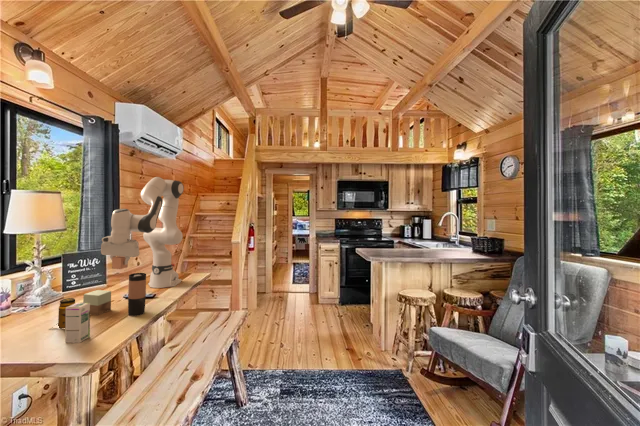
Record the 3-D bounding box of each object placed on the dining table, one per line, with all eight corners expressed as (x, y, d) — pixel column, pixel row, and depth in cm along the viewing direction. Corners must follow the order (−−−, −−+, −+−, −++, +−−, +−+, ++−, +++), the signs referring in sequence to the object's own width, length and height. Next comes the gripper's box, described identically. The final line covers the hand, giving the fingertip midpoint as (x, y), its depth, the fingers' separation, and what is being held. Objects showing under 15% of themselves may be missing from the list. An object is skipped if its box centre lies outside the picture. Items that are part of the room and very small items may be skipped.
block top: (96, 299, 158) (97, 289, 158) (110, 300, 157) (111, 291, 157) (83, 304, 150) (83, 294, 150) (98, 305, 149) (98, 295, 149)
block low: (96, 308, 158) (97, 299, 158) (110, 310, 157) (111, 300, 157) (83, 314, 150) (83, 304, 150) (97, 315, 149) (97, 305, 149)
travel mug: (142, 310, 159) (144, 272, 159) (147, 314, 154) (148, 275, 153) (125, 313, 154) (127, 274, 153) (129, 317, 148) (130, 277, 148)
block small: (119, 266, 168) (119, 255, 167) (127, 267, 167) (127, 256, 167) (112, 268, 163) (112, 257, 162) (120, 269, 162) (120, 258, 162)
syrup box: (80, 343, 121) (81, 307, 120) (64, 343, 120) (65, 306, 120) (89, 336, 126) (90, 302, 126) (74, 336, 126) (75, 302, 125)
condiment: (71, 328, 133) (71, 301, 133) (48, 329, 131) (49, 302, 131) (80, 322, 140) (81, 296, 140) (58, 323, 138) (59, 297, 138)
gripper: (142, 239, 166) (141, 264, 167) (108, 237, 169) (107, 261, 169) (134, 240, 160) (133, 266, 161) (98, 238, 162) (98, 263, 163)
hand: (120, 264), depth 165 cm, fingers closed on block small, 5 cm apart
